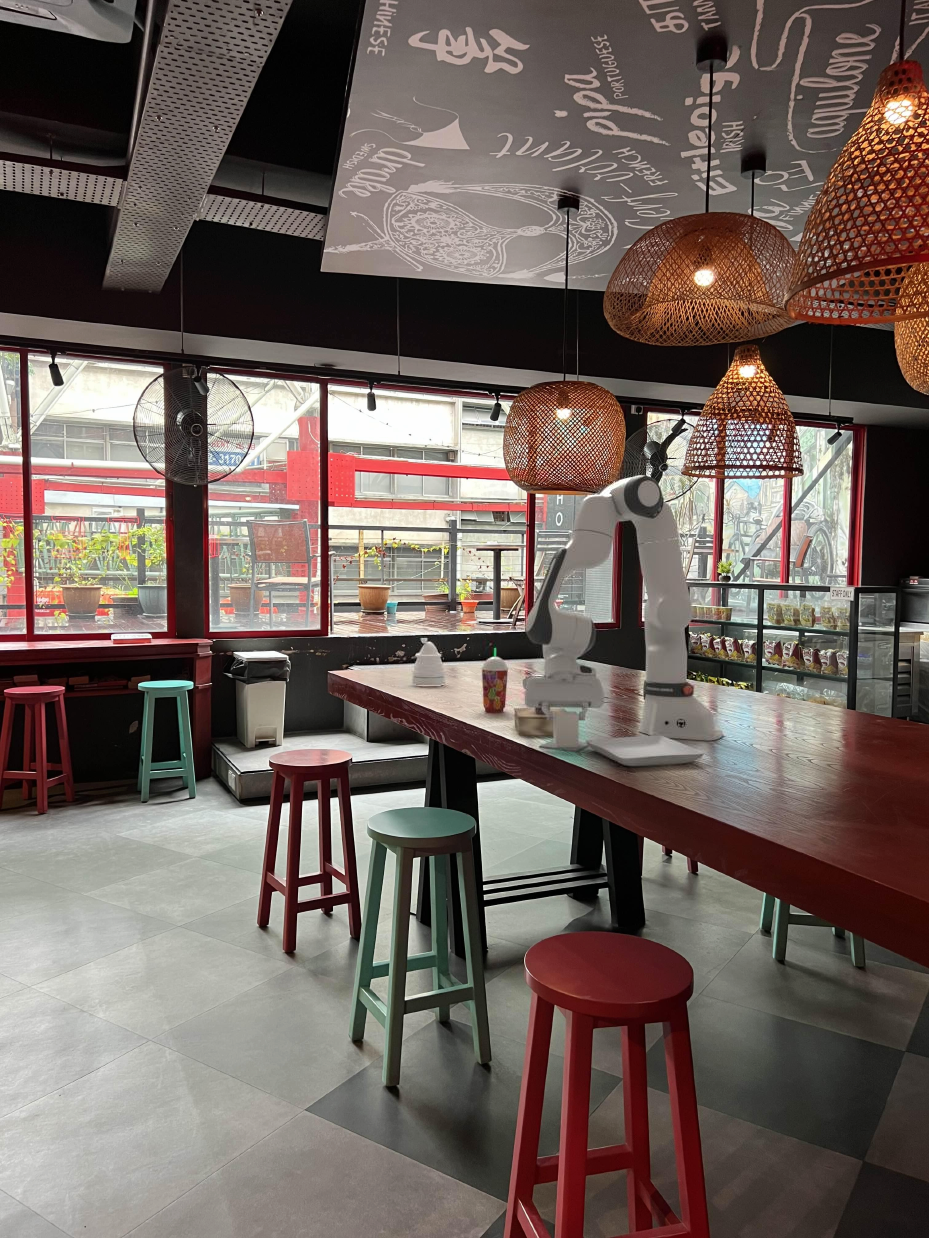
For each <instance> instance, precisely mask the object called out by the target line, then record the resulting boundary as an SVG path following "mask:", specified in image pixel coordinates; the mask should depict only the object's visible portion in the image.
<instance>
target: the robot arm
mask: <svg viewBox="0 0 929 1238" xmlns="http://www.w3.org/2000/svg"><path fill="white" fill-rule="evenodd" d="M664 500H665V499H664V496H663V492H662V489H661V486H660V484H659V483H658V482H657V480H656V479H655V478H654V477H652V476H649V475H641V474H640V475H634V476H632V477H631V476H630V477H627V478H626V477H625V478H622V479H619V480H617V481H615V482H613V483H611V484H607V485H605V486H603V487H602V488H601V489H599V490H598V492H597V493H596V494H591V495H587V496H586V497H584V498H583V499H582V501H581V503H580V505H579V508H578V509H577V513H576V515H575V519H574V522H573V525H572V531H571V534H570V538H569V539H568V542H567V543H566V544H565V545H564V547H559V548H558V549H557V550H556V552H555V553H554V555H553V557H552V558H551V560H550V563H549V565H548V568H547V570H546V572H545V575H544V577H543V580H542V582H541V586H540V588H539V591H538V592H537V596H536V598H535V601H534V603H533V605H532V607H531V609H530V610H529V613H528V616H527V618H526V620H525V625H524V631H525V633H526V635H527V637H528V638H529V640H530V642H532V643H533V644H536V645H537V644H538V645H542V656H543V659H544V665H543V669H544V670H543V671H544V674H541V675H540V674H537V675H533V674H531V675H528V676H525V677H524V678H523V679H522V687H523V689H525V691H524V692H525V694H524V704H525V706H526V708H535V707H542V711H543V712H544V713H545V715H547V720H553V711H549V709H548V708H550V709H565V708H567V709H577V708H578V709H581V710H582V711H579V712H578V715H579V721H581V722H584V721H586V713H588V710H589V709H599V708H602V706H603V705H604V701H605V693H604V688H603V685H602V683H601V680H600V679H599V678H598V677H597V669H596V668H595V667H592V666H589V665H584V664H582V663H578V661H577V659H578V658H580V657H582V656H583V655H584V654H586V653H587V652H588V651H590V650H591V649H592V647H594V645H595V641H596V637H597V635H596V634H597V632H596V626H595V623H594V622H593V620H592V618H591V617H589V616H586V615H583V614H579V613H576V612H570V611H565V610H563V609H559V608H558V609H557V608H556V607H555V606H554V603H555V601H556V599H557V596H558V593H559V590H560V588H561V585H562V582H563V580H564V578H565V577H566V576H567V575H568V574H569V573H572V572H577V571H585V570H590V569H595V568H597V567H600V566H601V565H603V564H604V563H605V562H606V561H607V560H608V559H609V557H610V554H611V551H612V547H613V542H614V538H615V530H616V526H617V524H618V523H619V522H626V521H631V522H632V524H633V525H634V527H635V529H636V537H637V538H636V540H637V549H638V556H639V562H640V563H639V564H640V571H641V575H642V579H643V582H644V586H645V591H646V596H647V600H646V601H645V603H644V608H643V610H644V611H643V613H644V615H643V616H644V640H645V679H644V681H643V690H642V693H643V694H642V696H643V700H644V702H643V709H642V714H641V715H642V716H641V719H640V724H639V727H638V729H637V730H638V731H639V732H640V733H642V734H645V735H648V736H664V737H666V738H669V739H678V740H679V739H681V740H693V741H695V740H696V741H708V742H709V741H715V740H719V739H721V738H722V737H723V736H724V732H723V730H721V729H720V728H719V729H717V728H716V726H715V725H716V724H715V719H714V714H713V712H712V711H711V709H709V708H708V707H706V706H705V705H704V703H702V702H700V701H699V700H698V699H697V698H696V697H695V696H694V693H695V692H694V691H695V684H693V685H692V684H691V682H688V681H687V678H688V677H687V675H688V672H687V671H688V650H687V644H686V633H685V628H687V626H688V625H689V624H690V622H691V621H692V618H693V612H694V611H693V610H694V609H693V606H692V601H691V596H690V591H689V587H688V583H687V579H686V576H685V572H684V567H683V561H682V553H681V546H680V539H679V532H678V528H677V524H676V523H677V522H676V520H675V516H674V513H673V509H672V507H671V505H670V504H669V503H667V502H666V501H664Z"/></svg>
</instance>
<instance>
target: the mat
mask: <svg viewBox="0 0 929 1238" xmlns="http://www.w3.org/2000/svg"><path fill="white" fill-rule="evenodd" d="M588 747H589V746H588V744H587V743H586V742H583V741H581V742H580V741H578V747H556V746H555V745H554V743H553V739H552V740H550V741H548V742H545V743H542V744H540V745H538V748H542V749H548V750H549V749H550V750H558V751H565V750H567V752H573V751H574V752H575V753H577V752H579V750H580V751H582V750H584V749H585V748H588ZM583 748H584V749H583ZM581 749H582V750H581Z"/></svg>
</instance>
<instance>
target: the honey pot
mask: <svg viewBox="0 0 929 1238" xmlns="http://www.w3.org/2000/svg"><path fill="white" fill-rule="evenodd" d="M420 641H421V643H422V644H423V646H422V647H421V649H420V650H419V652H418V653H415V657H416V661H415V662H414V665H413V670H412V671H411V672H412V674H411V675H412V676H411V677H412V678H411V684H412V683H413V684H416V685H441V684H445V685H446V671H445V667H444V663H443V662H442V658H441V657H442V654H441V653H439V652H438V651H439V650H438V649H437V647H436V646H435V644H434V643H433V642H432V641H428V638H427V637H424V638H423V637H421V638H420Z"/></svg>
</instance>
